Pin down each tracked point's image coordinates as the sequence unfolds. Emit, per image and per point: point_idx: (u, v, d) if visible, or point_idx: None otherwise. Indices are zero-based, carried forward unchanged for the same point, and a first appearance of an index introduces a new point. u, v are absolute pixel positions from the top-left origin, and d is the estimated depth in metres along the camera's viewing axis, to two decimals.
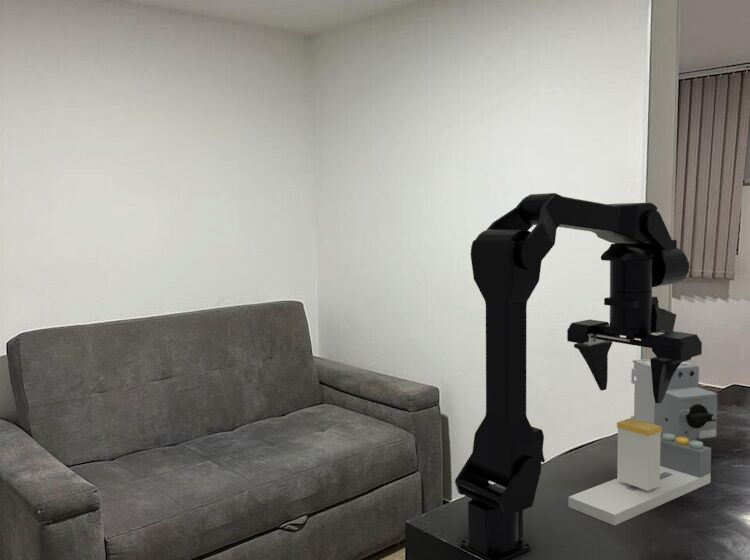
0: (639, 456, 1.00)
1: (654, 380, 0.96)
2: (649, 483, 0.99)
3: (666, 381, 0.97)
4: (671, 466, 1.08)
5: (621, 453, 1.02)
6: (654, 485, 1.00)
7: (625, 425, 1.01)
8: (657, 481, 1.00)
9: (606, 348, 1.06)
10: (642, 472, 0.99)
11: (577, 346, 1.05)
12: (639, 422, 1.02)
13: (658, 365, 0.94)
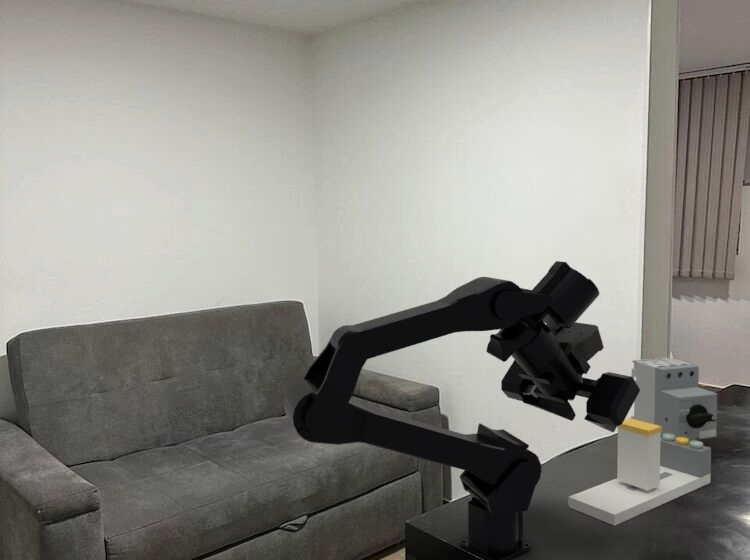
0: (639, 456, 1.00)
1: (599, 426, 0.89)
2: (649, 483, 0.99)
3: None
4: (671, 466, 1.08)
5: (621, 453, 1.02)
6: (654, 485, 1.00)
7: (625, 425, 1.01)
8: (657, 481, 1.00)
9: None
10: (642, 472, 0.99)
11: (526, 403, 0.95)
12: (639, 422, 1.02)
13: (595, 423, 0.87)
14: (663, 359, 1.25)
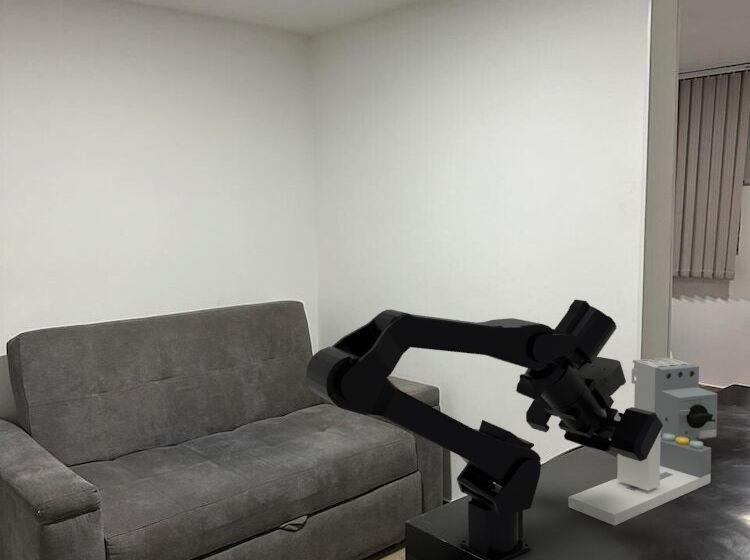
0: None
1: None
2: (649, 483, 0.99)
3: None
4: (671, 466, 1.08)
5: None
6: (654, 485, 1.00)
7: None
8: (657, 481, 1.00)
9: None
10: (642, 472, 0.99)
11: (568, 440, 0.96)
12: None
13: (598, 450, 0.93)
14: (663, 359, 1.25)
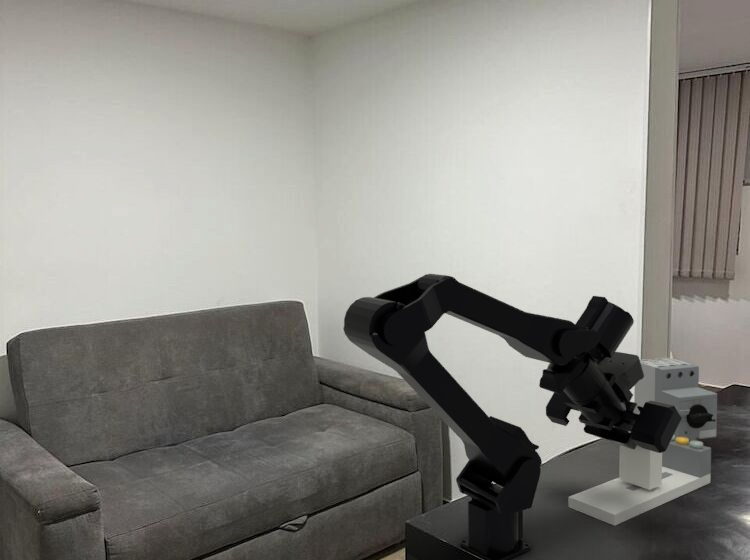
0: (641, 455, 1.00)
1: (621, 444, 0.98)
2: (651, 482, 0.99)
3: None
4: (671, 466, 1.08)
5: (623, 452, 1.02)
6: (656, 484, 1.00)
7: None
8: (659, 480, 1.01)
9: None
10: (644, 471, 1.00)
11: (588, 433, 0.98)
12: None
13: (618, 442, 0.95)
14: (663, 359, 1.25)
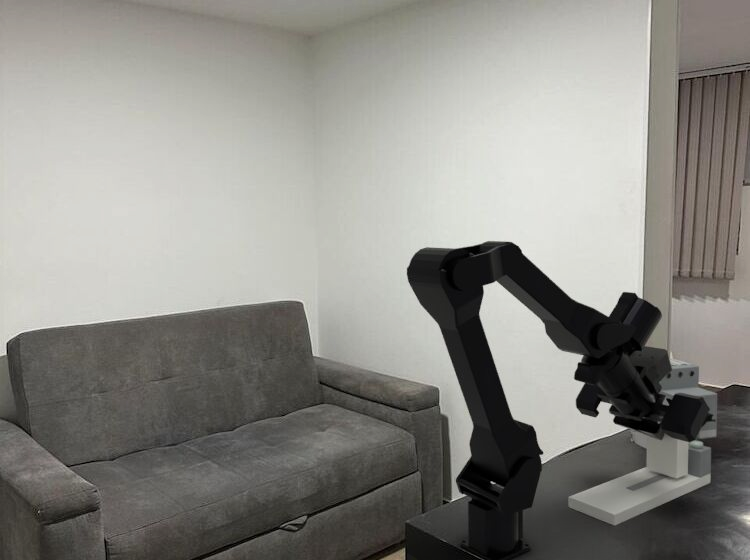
0: (668, 445, 1.04)
1: (650, 435, 1.02)
2: (678, 471, 1.03)
3: None
4: None
5: (650, 443, 1.06)
6: (683, 473, 1.04)
7: None
8: (685, 469, 1.04)
9: None
10: (671, 461, 1.04)
11: (617, 424, 1.02)
12: None
13: (647, 433, 0.99)
14: None
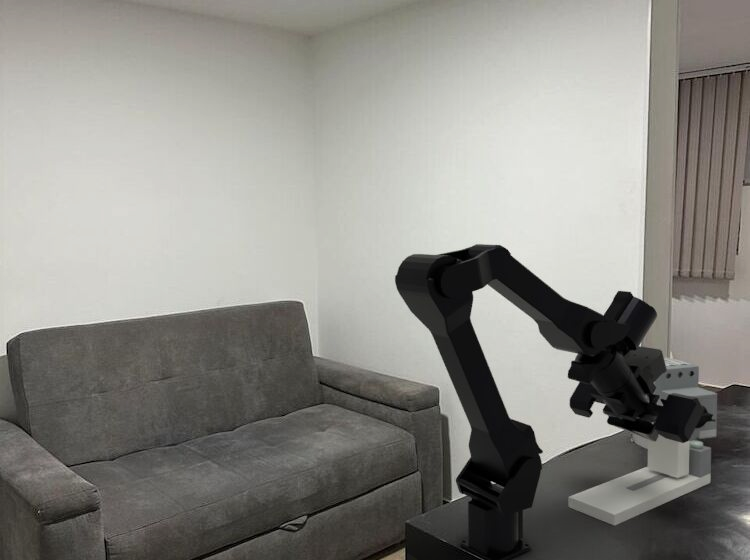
0: (669, 445, 1.04)
1: (643, 436, 1.01)
2: (679, 470, 1.03)
3: None
4: None
5: (651, 442, 1.06)
6: (684, 473, 1.04)
7: None
8: (686, 469, 1.05)
9: None
10: (672, 460, 1.04)
11: (611, 424, 1.02)
12: None
13: (641, 433, 0.98)
14: None
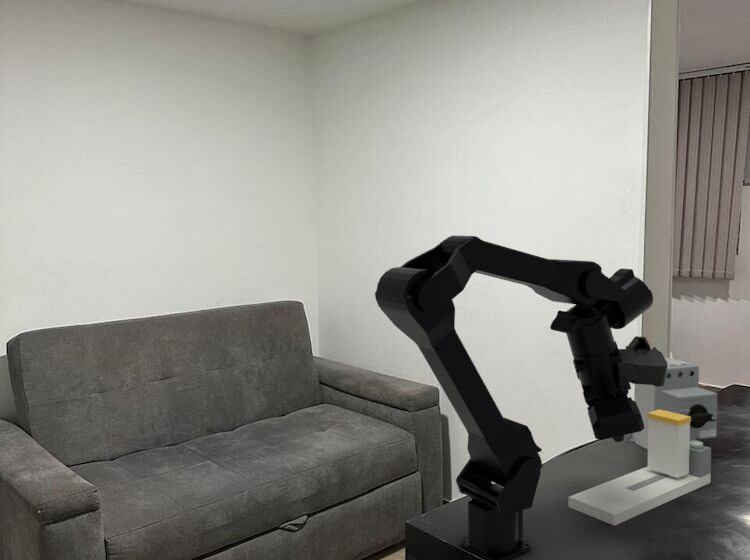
0: (669, 445, 1.04)
1: None
2: (679, 470, 1.03)
3: None
4: None
5: (651, 442, 1.06)
6: (684, 473, 1.04)
7: (655, 415, 1.06)
8: (686, 469, 1.05)
9: None
10: (672, 460, 1.04)
11: None
12: (669, 412, 1.07)
13: None
14: None
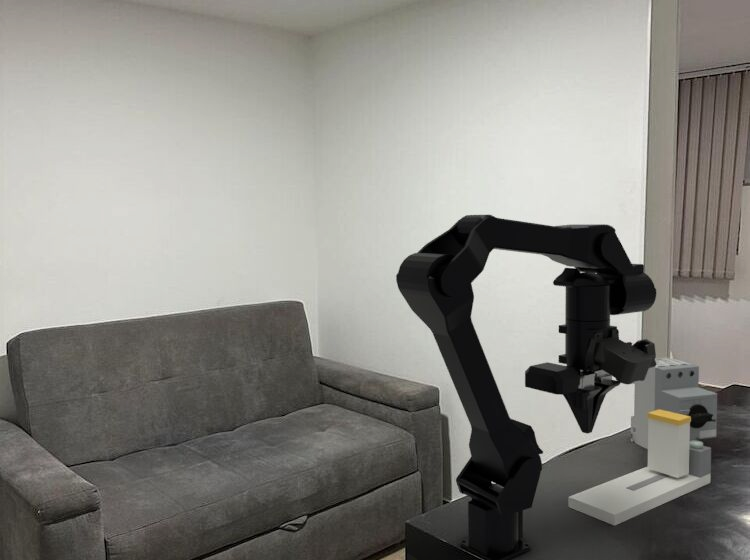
0: (669, 445, 1.04)
1: None
2: (679, 470, 1.03)
3: (582, 410, 0.93)
4: None
5: (651, 442, 1.06)
6: (684, 473, 1.04)
7: (655, 415, 1.06)
8: (686, 469, 1.05)
9: None
10: (672, 460, 1.04)
11: None
12: (669, 412, 1.07)
13: None
14: (663, 359, 1.25)
